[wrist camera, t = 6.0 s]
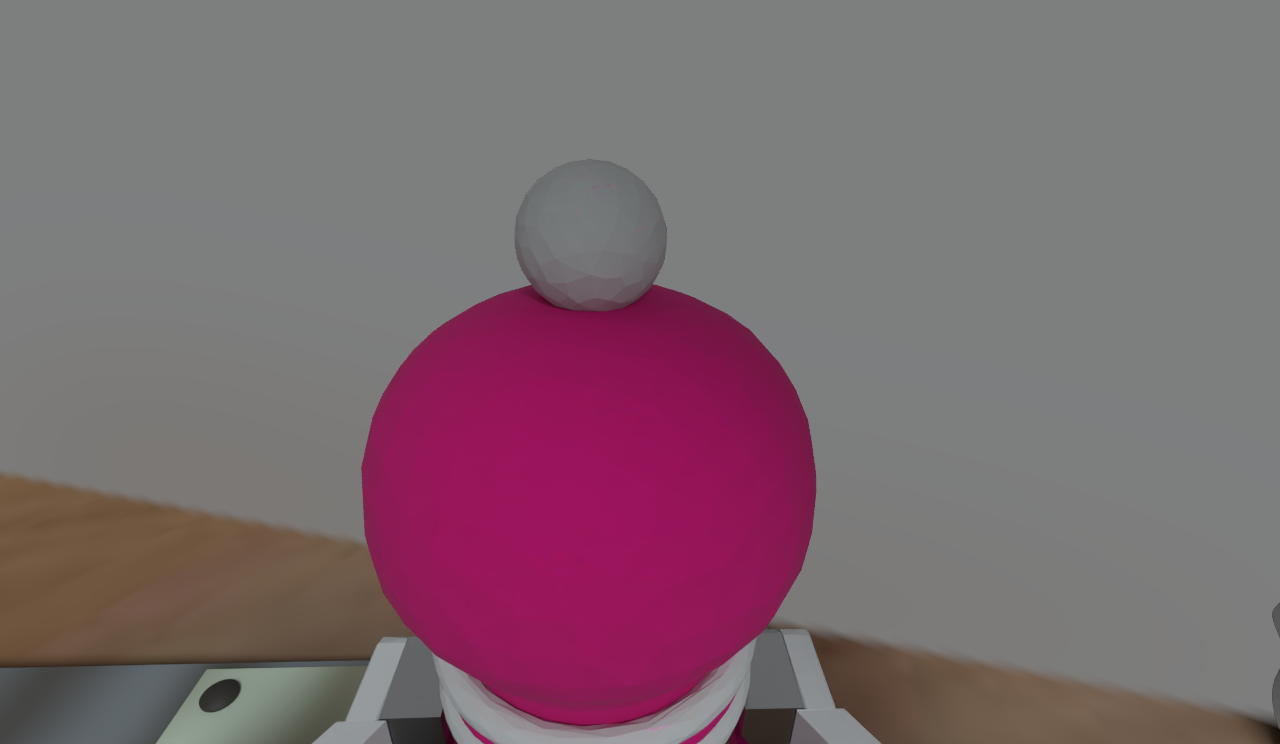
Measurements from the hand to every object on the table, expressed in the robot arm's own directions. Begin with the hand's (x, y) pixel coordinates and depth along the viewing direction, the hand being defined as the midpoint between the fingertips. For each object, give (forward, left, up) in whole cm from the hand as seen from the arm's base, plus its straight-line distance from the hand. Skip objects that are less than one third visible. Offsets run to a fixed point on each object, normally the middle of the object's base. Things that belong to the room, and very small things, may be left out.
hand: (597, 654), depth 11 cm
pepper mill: (0, +1, -11) cm, 11 cm away
